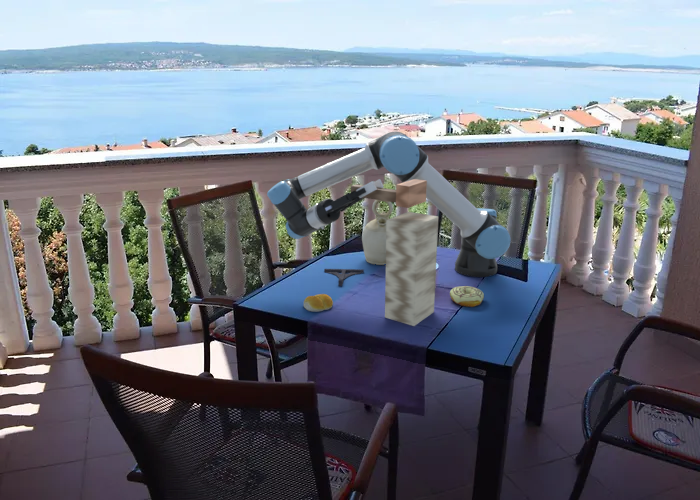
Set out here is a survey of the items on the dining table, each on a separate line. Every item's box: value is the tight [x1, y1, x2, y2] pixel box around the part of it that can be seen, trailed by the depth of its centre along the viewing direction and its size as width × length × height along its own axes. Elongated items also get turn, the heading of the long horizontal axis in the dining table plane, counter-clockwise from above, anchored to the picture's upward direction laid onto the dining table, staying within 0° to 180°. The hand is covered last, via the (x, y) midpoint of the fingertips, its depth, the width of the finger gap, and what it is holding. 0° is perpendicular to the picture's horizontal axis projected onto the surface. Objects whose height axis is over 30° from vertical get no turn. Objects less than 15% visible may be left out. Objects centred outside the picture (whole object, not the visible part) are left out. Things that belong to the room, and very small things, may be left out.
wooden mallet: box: [350, 179, 427, 209], centre depth 159 cm, size 22×10×6 cm, turn 54°
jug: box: [361, 199, 394, 266], centre depth 210 cm, size 15×16×25 cm
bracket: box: [323, 268, 365, 287], centre depth 195 cm, size 14×15×3 cm
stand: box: [384, 211, 439, 327], centre depth 161 cm, size 10×12×30 cm
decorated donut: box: [449, 285, 485, 308], centre depth 175 cm, size 10×11×4 cm
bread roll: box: [303, 293, 334, 313], centre depth 171 cm, size 8×9×4 cm
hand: (377, 184), depth 160 cm, fingers closed on wooden mallet, 3 cm apart
